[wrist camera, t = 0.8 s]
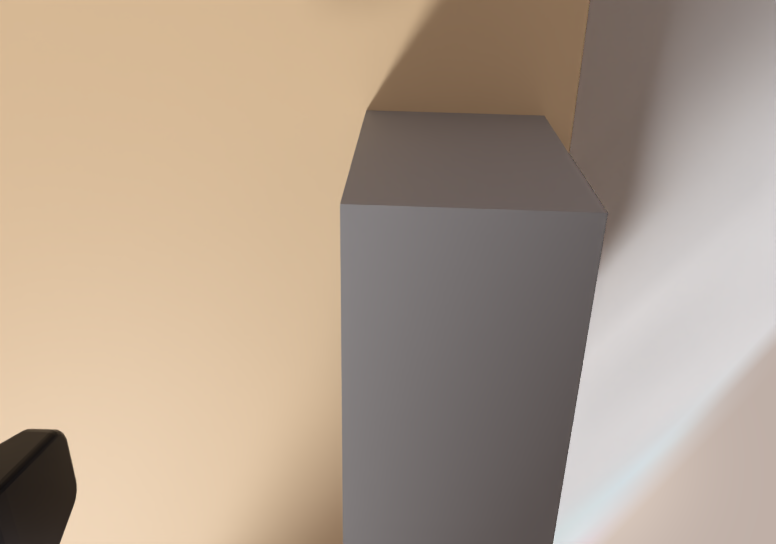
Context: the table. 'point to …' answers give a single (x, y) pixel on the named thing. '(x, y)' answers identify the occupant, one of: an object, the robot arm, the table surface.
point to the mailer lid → (297, 264)
